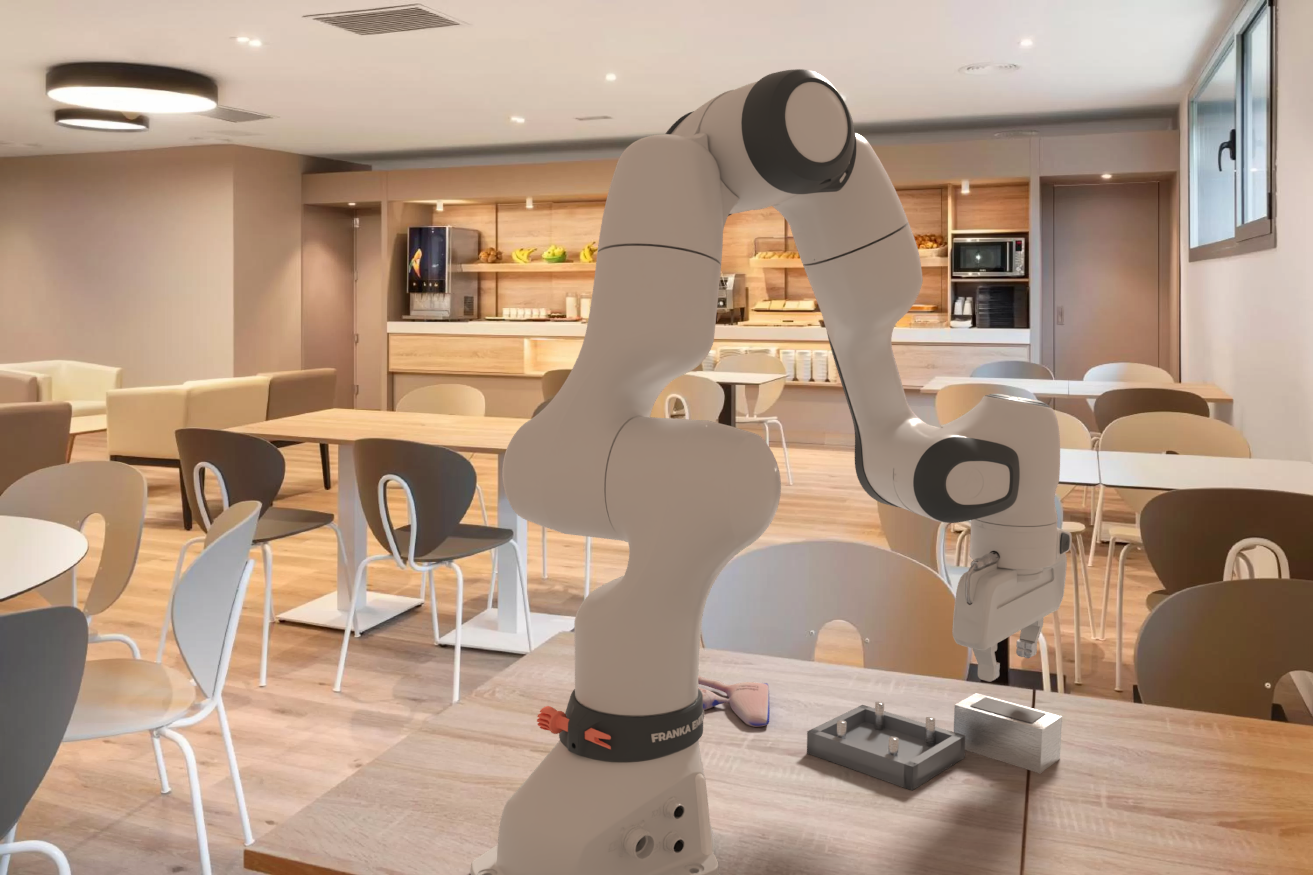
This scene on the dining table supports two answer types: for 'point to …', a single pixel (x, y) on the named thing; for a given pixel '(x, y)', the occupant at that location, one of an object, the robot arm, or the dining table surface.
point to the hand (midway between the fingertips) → (1007, 666)
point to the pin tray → (887, 745)
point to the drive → (1009, 732)
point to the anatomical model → (740, 699)
